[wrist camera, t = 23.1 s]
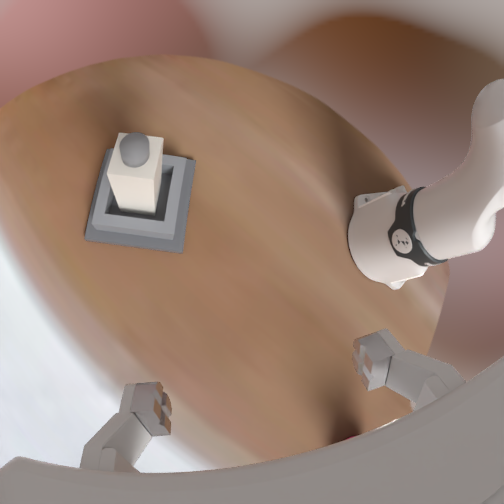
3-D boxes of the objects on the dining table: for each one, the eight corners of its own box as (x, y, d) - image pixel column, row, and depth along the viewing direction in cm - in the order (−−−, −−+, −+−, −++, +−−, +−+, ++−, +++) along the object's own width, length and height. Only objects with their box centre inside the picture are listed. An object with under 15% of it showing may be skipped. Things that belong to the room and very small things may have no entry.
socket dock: (195, 163, 42) (198, 150, 39) (182, 253, 40) (184, 247, 36) (107, 152, 39) (104, 138, 35) (86, 240, 36) (78, 233, 32)
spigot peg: (161, 182, 39) (164, 127, 26) (155, 216, 38) (153, 170, 25) (127, 178, 38) (117, 122, 25) (120, 211, 37) (103, 164, 24)
